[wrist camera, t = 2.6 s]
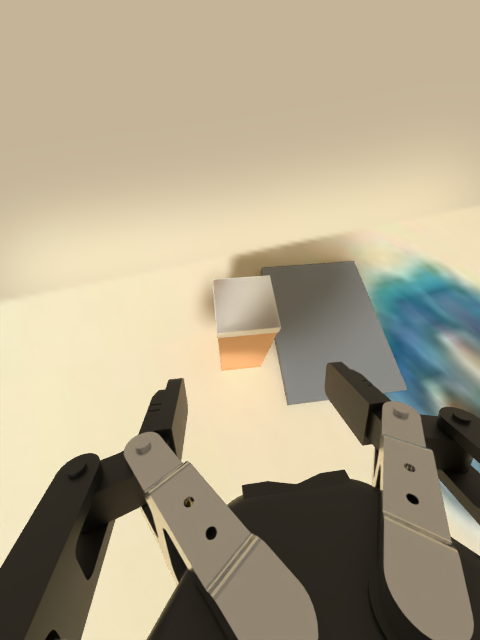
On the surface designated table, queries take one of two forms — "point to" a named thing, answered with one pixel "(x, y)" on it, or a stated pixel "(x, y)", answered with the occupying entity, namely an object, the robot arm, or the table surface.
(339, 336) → the slate mat
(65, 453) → the table surface
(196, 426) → the table surface
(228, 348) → the orange rectangular block
